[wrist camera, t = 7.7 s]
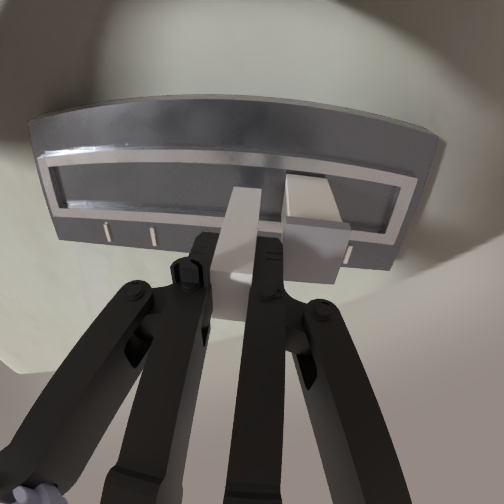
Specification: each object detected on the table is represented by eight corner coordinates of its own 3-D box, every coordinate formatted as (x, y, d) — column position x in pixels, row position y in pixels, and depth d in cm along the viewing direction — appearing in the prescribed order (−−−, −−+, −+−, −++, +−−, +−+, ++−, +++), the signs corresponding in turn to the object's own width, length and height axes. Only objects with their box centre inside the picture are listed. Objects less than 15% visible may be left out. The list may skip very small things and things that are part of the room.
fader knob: (277, 216, 18) (277, 280, 14) (283, 170, 16) (286, 223, 11) (321, 221, 18) (333, 284, 13) (330, 176, 16) (351, 230, 11)
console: (70, 227, 23) (56, 244, 21) (43, 113, 15) (22, 124, 13) (382, 255, 22) (391, 276, 20) (424, 128, 15) (443, 139, 13)
